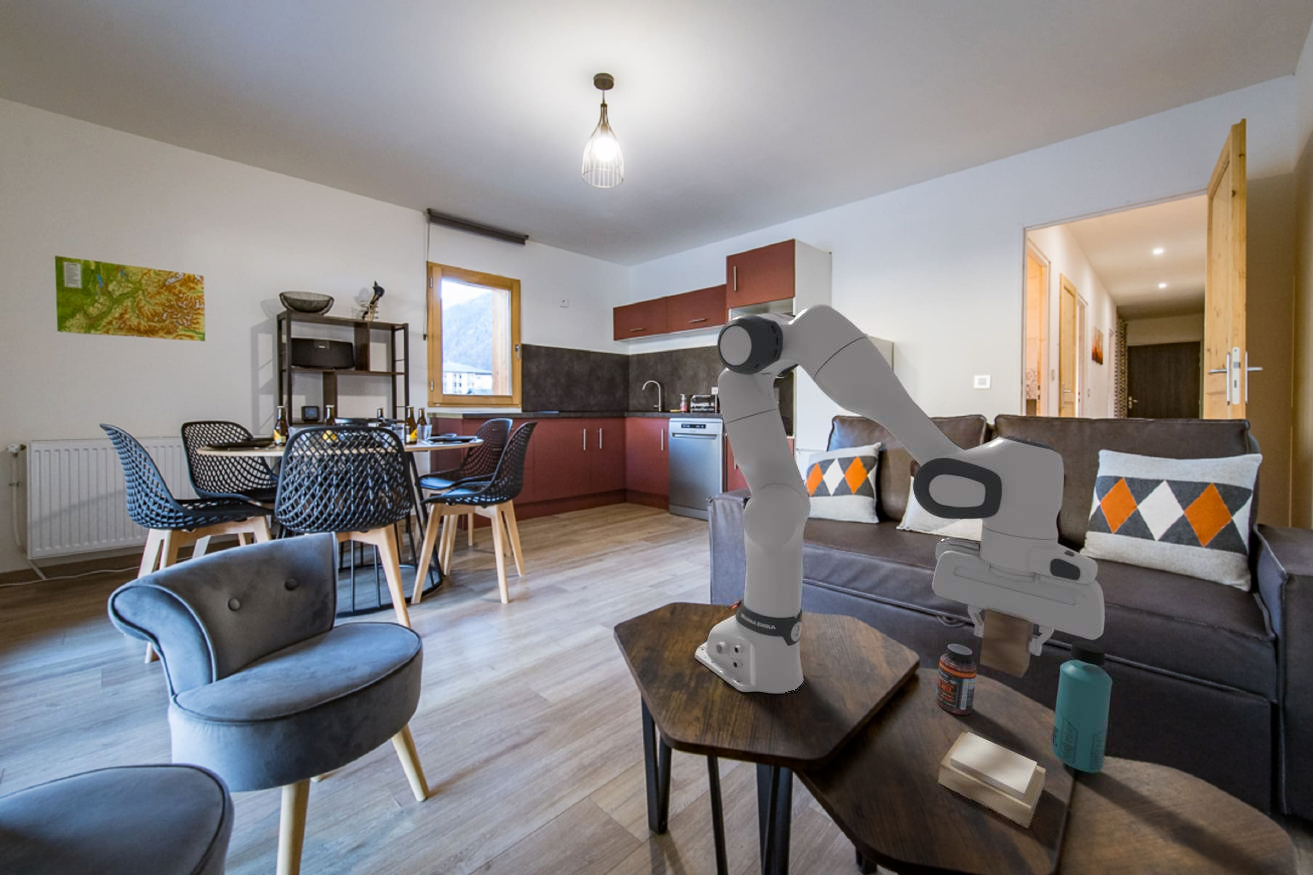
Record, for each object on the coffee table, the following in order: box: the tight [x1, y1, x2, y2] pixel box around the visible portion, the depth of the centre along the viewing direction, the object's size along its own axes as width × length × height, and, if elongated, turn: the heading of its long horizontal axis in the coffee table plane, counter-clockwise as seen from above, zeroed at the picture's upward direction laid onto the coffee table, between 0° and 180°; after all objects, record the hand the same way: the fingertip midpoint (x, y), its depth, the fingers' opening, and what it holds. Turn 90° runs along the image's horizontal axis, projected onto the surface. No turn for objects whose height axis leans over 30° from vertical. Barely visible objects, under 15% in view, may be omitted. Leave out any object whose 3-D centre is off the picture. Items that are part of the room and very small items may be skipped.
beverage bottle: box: [1050, 640, 1113, 774], centre depth 80 cm, size 6×7×20 cm
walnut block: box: [979, 609, 1035, 679], centre depth 74 cm, size 5×5×8 cm
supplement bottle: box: [935, 643, 978, 716], centre depth 95 cm, size 6×6×11 cm
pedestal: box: [938, 731, 1047, 828], centre depth 76 cm, size 11×11×4 cm
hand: (1006, 644), depth 74 cm, fingers closed on walnut block, 5 cm apart
